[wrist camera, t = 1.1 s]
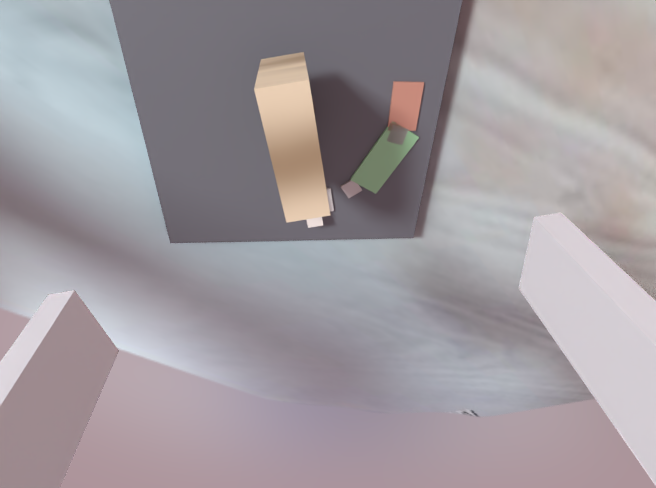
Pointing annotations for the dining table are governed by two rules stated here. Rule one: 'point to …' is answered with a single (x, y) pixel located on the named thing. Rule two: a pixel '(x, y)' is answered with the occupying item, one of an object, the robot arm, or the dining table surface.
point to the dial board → (245, 121)
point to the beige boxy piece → (292, 137)
